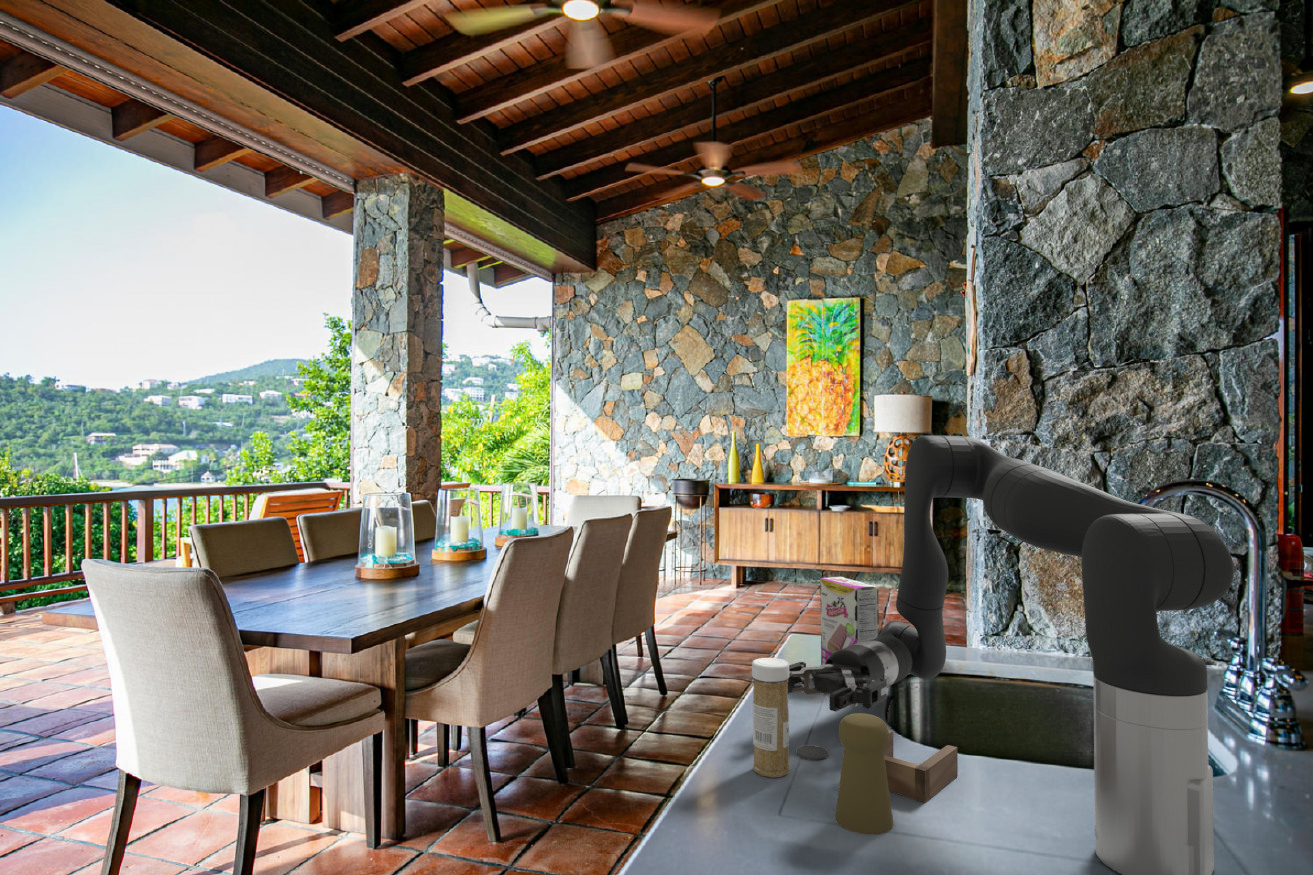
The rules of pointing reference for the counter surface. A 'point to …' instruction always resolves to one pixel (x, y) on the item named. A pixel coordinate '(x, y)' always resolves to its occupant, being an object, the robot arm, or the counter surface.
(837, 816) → the cork
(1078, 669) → the counter surface
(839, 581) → the candy bar box
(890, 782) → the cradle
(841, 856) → the counter surface
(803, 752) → the disc
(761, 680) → the spice jar
